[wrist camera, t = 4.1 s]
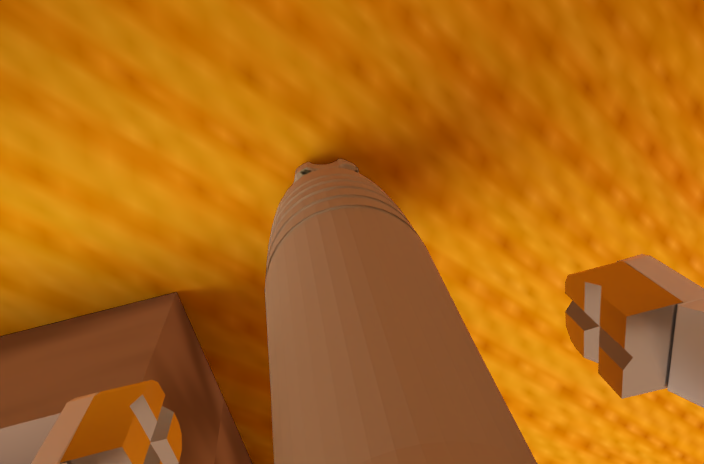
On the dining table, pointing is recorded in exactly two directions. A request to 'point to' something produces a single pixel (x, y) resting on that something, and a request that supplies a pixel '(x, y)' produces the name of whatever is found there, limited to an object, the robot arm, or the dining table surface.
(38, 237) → the dining table surface
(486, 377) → the handle
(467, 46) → the dining table surface
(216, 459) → the socket block
